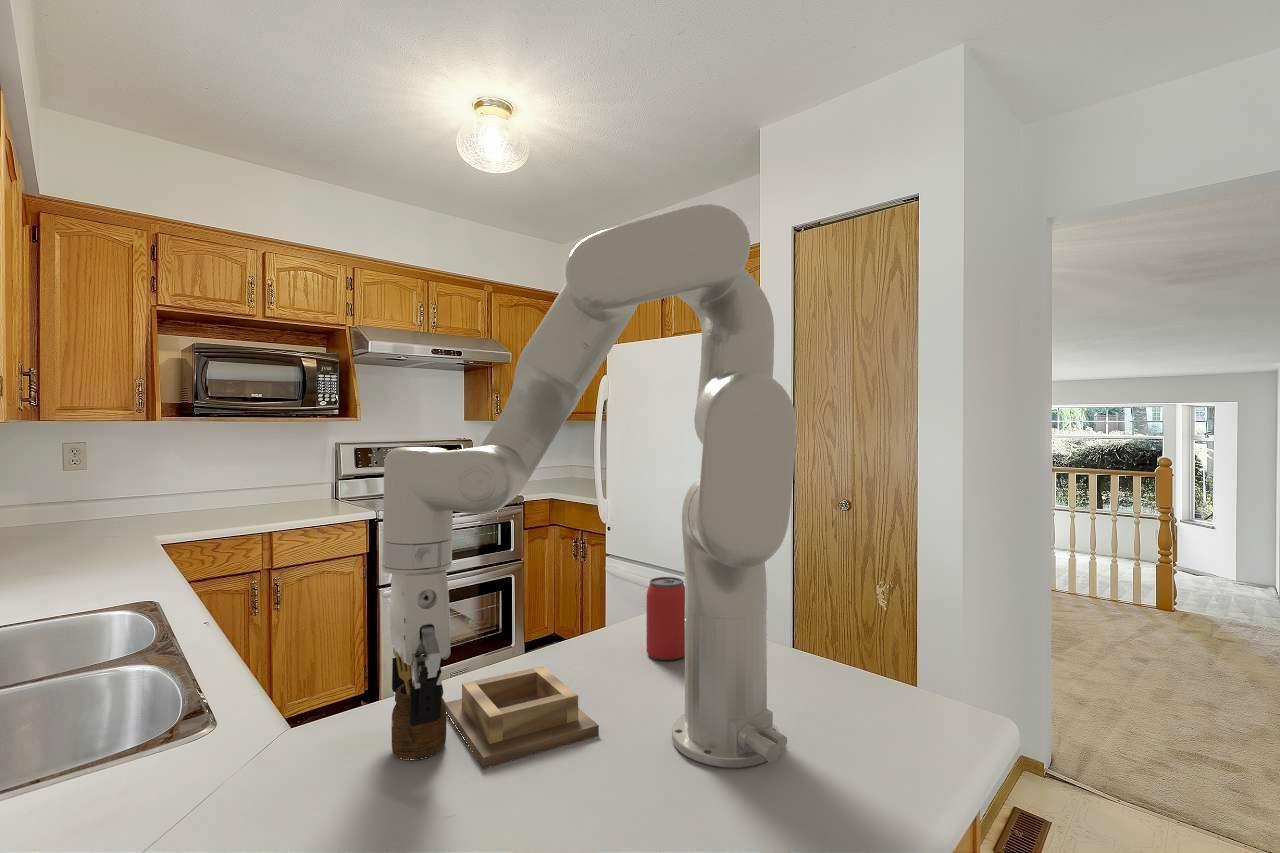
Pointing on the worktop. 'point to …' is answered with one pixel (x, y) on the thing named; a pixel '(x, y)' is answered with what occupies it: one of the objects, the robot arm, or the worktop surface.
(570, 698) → the socket board
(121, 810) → the worktop surface
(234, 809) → the worktop surface
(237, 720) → the worktop surface
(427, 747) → the utensil holder
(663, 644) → the beer can
